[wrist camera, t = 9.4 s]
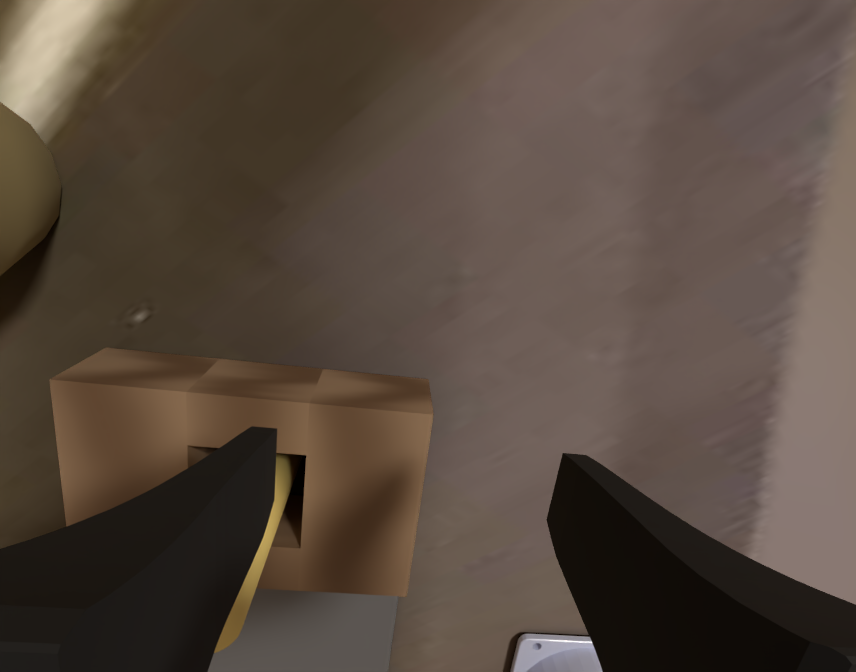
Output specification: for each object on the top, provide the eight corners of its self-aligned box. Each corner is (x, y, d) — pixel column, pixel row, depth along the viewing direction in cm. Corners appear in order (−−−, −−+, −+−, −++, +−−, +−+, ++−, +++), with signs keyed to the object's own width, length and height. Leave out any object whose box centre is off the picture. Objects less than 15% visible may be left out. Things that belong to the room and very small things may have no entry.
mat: (402, 564, 25) (402, 568, 25) (382, 701, 28) (382, 707, 28) (204, 551, 24) (202, 556, 24) (206, 695, 27) (203, 701, 27)
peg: (302, 427, 22) (242, 577, 14) (300, 483, 23) (244, 657, 15) (235, 424, 22) (132, 574, 14) (237, 480, 23) (141, 655, 14)
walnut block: (428, 379, 22) (433, 414, 19) (405, 540, 25) (406, 596, 21) (105, 347, 21) (49, 379, 17) (118, 521, 23) (72, 578, 20)
